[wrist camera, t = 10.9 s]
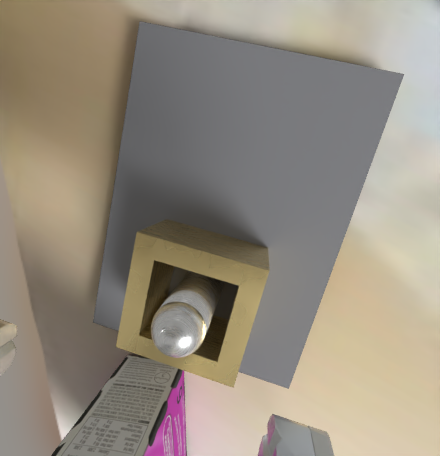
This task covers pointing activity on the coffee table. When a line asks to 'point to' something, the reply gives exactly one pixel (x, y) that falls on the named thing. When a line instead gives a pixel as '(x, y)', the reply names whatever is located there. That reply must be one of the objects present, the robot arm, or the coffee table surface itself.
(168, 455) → the candy bar box
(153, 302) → the brass collar
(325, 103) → the slate mat
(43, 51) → the coffee table surface
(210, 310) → the steel post
